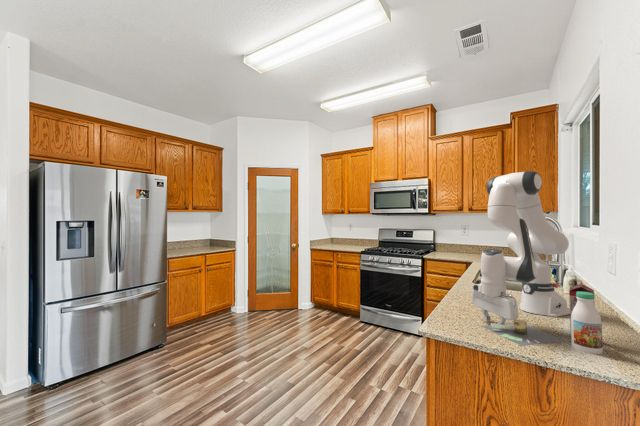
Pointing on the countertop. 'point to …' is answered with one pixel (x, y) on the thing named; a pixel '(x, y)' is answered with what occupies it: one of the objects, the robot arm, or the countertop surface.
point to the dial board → (525, 335)
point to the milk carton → (573, 296)
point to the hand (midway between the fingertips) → (494, 323)
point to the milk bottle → (586, 325)
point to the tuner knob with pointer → (513, 326)
